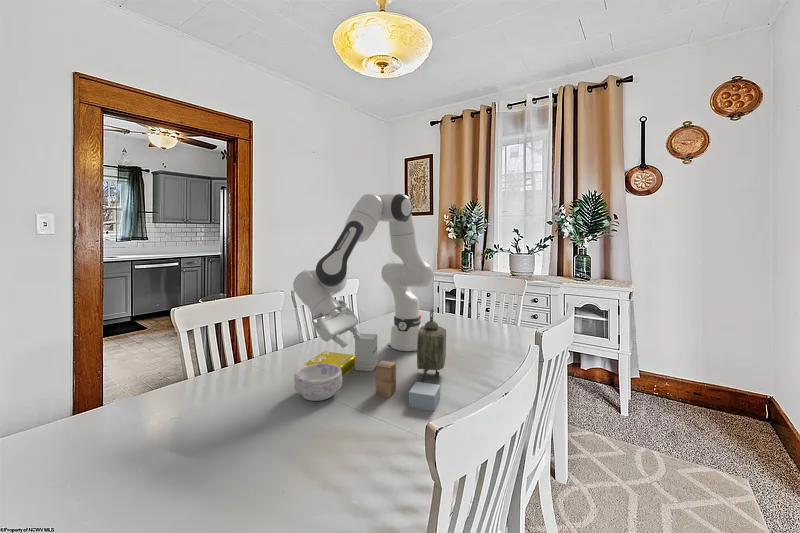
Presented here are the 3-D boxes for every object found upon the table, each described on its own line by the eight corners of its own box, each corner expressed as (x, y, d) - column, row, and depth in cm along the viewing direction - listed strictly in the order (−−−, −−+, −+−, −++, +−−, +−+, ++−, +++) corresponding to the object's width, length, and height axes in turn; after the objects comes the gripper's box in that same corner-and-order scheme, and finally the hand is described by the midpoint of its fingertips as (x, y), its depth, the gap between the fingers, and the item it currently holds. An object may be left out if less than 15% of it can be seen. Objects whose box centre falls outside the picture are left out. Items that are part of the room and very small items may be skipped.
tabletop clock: (422, 367, 145) (423, 304, 143) (445, 369, 143) (446, 305, 141) (416, 382, 131) (417, 312, 129) (442, 384, 129) (443, 314, 127)
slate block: (415, 396, 121) (416, 381, 120) (440, 400, 118) (440, 385, 118) (408, 407, 113) (408, 392, 112) (434, 411, 110) (434, 395, 110)
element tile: (339, 379, 134) (339, 367, 134) (303, 374, 139) (303, 362, 138) (357, 365, 148) (357, 353, 148) (324, 361, 153) (323, 349, 152)
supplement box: (372, 371, 140) (372, 339, 139) (354, 370, 142) (354, 338, 141) (377, 364, 148) (377, 334, 146) (360, 363, 149) (359, 332, 148)
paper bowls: (284, 401, 117) (284, 376, 116) (312, 382, 131) (311, 360, 130) (326, 409, 111) (326, 384, 110) (350, 388, 126) (350, 366, 125)
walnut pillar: (382, 389, 126) (382, 360, 124) (395, 391, 124) (395, 362, 123) (375, 395, 121) (375, 365, 120) (390, 397, 119) (390, 367, 118)
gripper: (315, 311, 117) (342, 345, 114) (346, 300, 136) (371, 329, 133) (303, 324, 119) (330, 357, 116) (336, 311, 138) (359, 339, 135)
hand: (352, 342), depth 125 cm, fingers open, 8 cm apart
